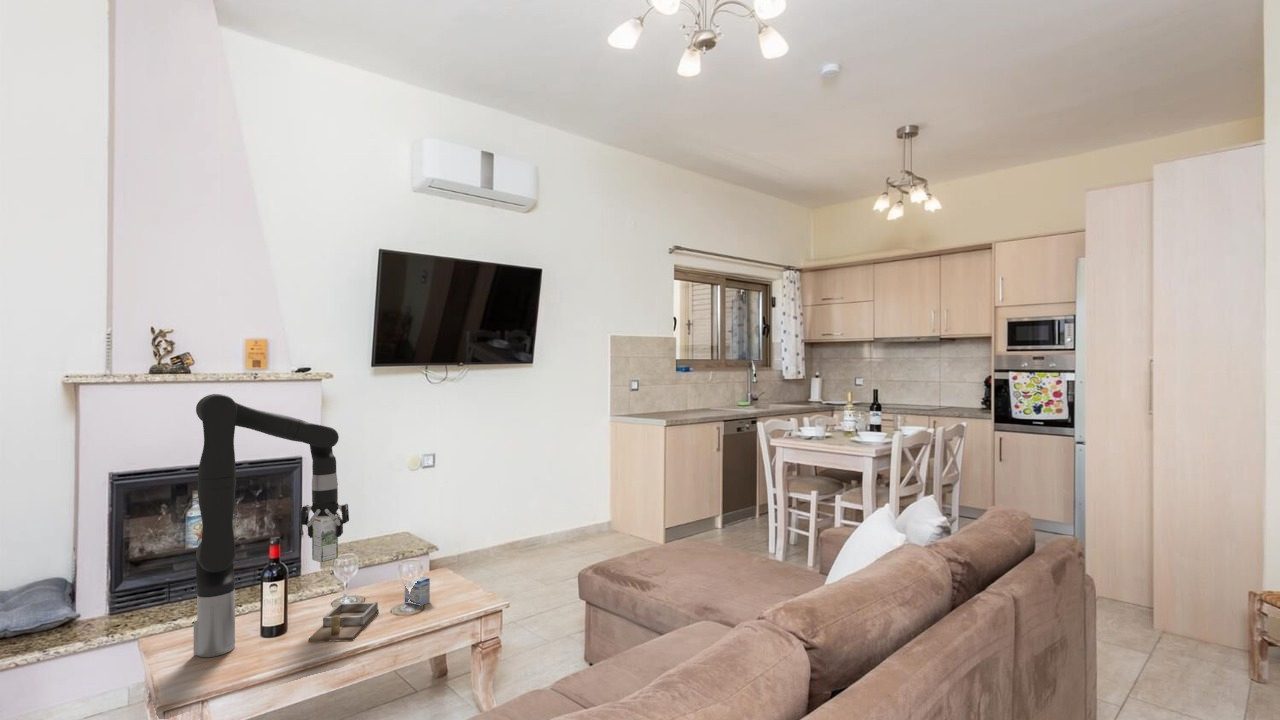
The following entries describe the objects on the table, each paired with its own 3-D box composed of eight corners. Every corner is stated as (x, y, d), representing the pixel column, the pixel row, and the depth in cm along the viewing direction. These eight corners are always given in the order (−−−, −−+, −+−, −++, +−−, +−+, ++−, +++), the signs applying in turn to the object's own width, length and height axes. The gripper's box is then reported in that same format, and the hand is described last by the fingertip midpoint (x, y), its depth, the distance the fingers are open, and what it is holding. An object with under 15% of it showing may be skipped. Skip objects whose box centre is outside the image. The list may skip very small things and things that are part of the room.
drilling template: (308, 641, 189) (308, 622, 189) (339, 613, 211) (339, 595, 211) (352, 640, 190) (352, 620, 190) (378, 612, 212) (378, 594, 212)
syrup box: (329, 555, 209) (328, 512, 209) (338, 558, 206) (338, 514, 206) (311, 560, 204) (311, 515, 204) (321, 563, 201) (320, 518, 201)
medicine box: (404, 602, 220) (404, 578, 221) (414, 598, 224) (414, 574, 224) (420, 606, 217) (420, 581, 217) (430, 602, 221) (430, 577, 221)
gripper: (296, 490, 201) (297, 540, 201) (342, 488, 202) (343, 539, 202) (307, 485, 208) (308, 534, 208) (351, 484, 209) (352, 533, 209)
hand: (325, 536), depth 205 cm, fingers closed on syrup box, 8 cm apart
